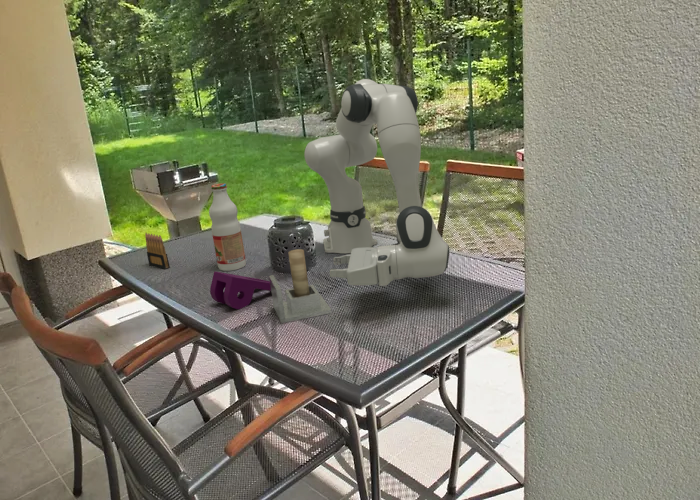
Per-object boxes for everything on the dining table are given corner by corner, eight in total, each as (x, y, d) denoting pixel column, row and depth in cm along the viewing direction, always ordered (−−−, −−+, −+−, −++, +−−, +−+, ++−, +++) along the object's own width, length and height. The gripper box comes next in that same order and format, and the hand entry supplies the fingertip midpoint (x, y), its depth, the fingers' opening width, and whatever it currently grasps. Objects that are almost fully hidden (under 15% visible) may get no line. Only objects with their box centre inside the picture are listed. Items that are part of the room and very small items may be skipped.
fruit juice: (240, 271, 195) (226, 186, 187) (213, 271, 198) (198, 188, 190) (250, 261, 204) (237, 180, 196) (225, 262, 206) (211, 182, 198)
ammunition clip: (149, 265, 213) (142, 232, 209) (153, 263, 214) (147, 231, 211) (165, 269, 206) (158, 236, 202) (170, 267, 207) (163, 234, 204)
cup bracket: (273, 307, 162) (268, 275, 159) (320, 297, 165) (317, 266, 162) (281, 323, 151) (276, 290, 148) (331, 312, 154) (327, 280, 151)
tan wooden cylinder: (294, 305, 159) (287, 251, 155) (309, 302, 160) (302, 248, 156) (297, 310, 155) (289, 254, 151) (312, 306, 156) (305, 252, 152)
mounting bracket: (259, 307, 179) (207, 300, 167) (265, 279, 179) (214, 271, 167) (277, 314, 172) (225, 307, 160) (284, 285, 173) (232, 276, 160)
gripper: (385, 239, 162) (334, 243, 163) (383, 263, 142) (326, 268, 143) (387, 262, 163) (336, 265, 165) (386, 288, 144) (329, 292, 145)
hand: (331, 267), depth 154 cm, fingers open, 8 cm apart
